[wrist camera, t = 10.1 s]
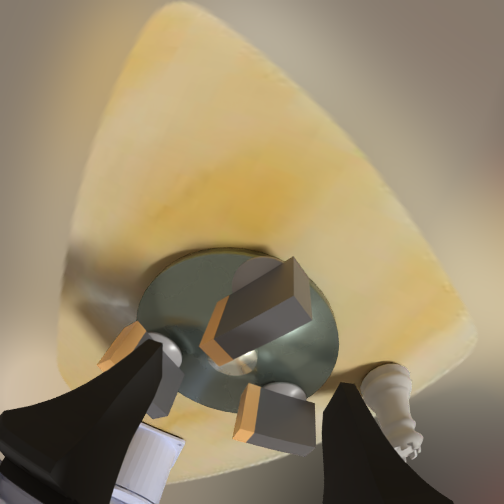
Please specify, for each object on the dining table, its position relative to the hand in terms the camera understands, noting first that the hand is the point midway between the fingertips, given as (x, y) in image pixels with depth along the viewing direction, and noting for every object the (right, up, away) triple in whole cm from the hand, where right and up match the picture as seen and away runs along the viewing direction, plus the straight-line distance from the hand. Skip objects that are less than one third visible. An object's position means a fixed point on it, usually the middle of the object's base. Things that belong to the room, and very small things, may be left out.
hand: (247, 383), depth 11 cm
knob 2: (+1, +3, +7) cm, 8 cm away
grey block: (+2, -6, +11) cm, 13 cm away
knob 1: (-7, -2, +11) cm, 13 cm away
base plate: (-1, -2, +11) cm, 11 cm away
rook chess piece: (+11, -6, +11) cm, 17 cm away
